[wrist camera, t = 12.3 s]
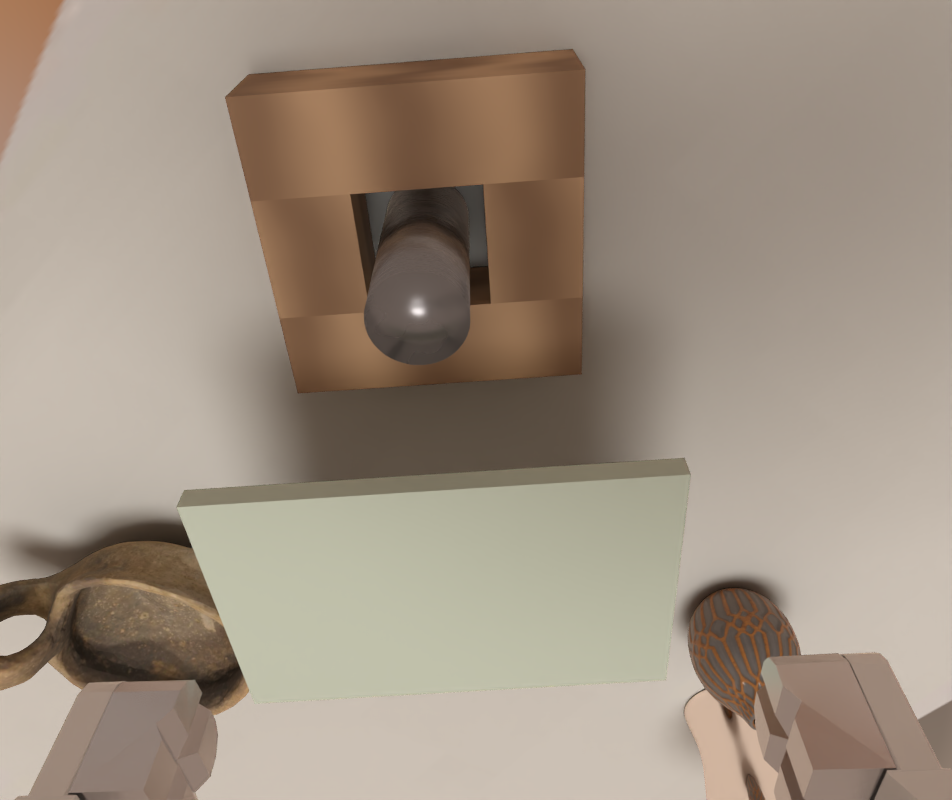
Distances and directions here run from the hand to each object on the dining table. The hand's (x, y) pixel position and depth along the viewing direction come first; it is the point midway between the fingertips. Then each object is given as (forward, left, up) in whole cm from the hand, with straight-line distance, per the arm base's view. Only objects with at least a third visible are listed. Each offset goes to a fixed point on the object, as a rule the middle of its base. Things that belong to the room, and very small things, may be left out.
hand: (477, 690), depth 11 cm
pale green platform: (+2, +16, -29) cm, 33 cm away
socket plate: (+2, +4, -29) cm, 29 cm away
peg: (+2, +4, -29) cm, 29 cm away
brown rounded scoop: (+23, +27, -29) cm, 46 cm away
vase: (-16, +34, -29) cm, 47 cm away
